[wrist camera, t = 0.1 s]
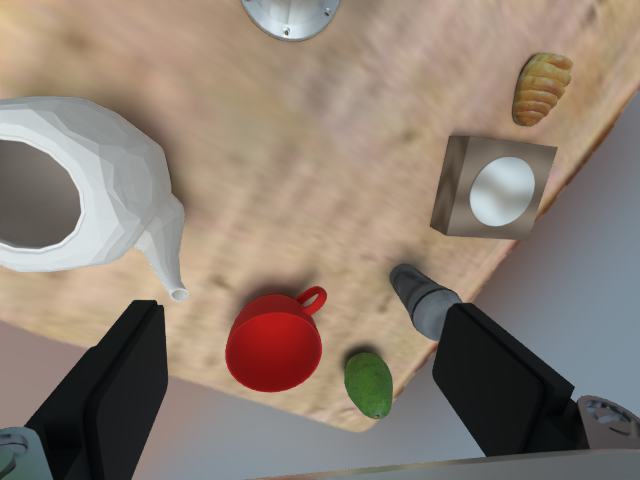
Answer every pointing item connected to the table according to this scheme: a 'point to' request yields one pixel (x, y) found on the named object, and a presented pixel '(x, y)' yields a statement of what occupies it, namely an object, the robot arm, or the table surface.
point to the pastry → (540, 87)
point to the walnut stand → (490, 187)
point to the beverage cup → (423, 299)
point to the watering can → (83, 190)
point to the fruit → (369, 384)
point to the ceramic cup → (275, 342)
